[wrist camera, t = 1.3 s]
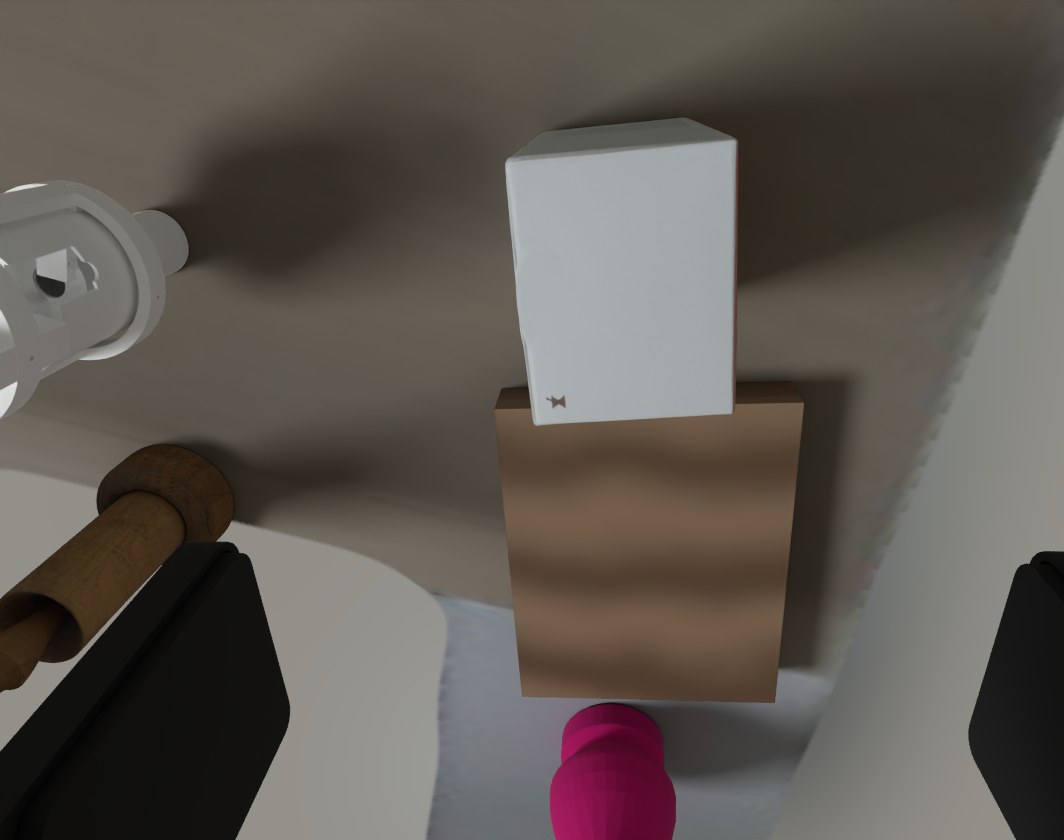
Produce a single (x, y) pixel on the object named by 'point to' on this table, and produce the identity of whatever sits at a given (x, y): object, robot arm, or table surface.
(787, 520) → the walnut board
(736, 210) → the small box
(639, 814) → the pepper mill
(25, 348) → the white slotted cylindrical holder
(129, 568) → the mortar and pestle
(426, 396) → the table surface
